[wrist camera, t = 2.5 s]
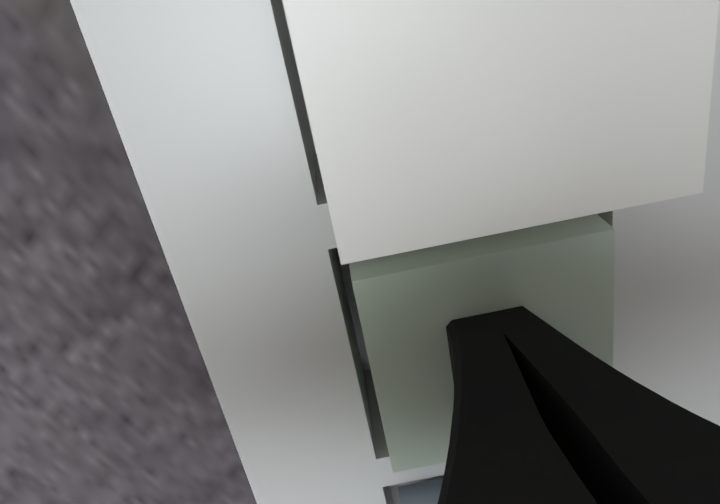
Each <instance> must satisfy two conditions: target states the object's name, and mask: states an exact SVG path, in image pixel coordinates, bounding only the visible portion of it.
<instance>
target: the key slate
mask: <svg viewBox="0 0 720 504" xmlns="http://www.w3.org/2000/svg"><path fill="white" fill-rule="evenodd" d="M442 481H443V478H440V479H435V480H430V481H425V482H420V483H414V484H409V485H404V486H399V487H398V492H399V498H400V504H437V503H438V500H439V495H440V491H441V486H442Z"/></svg>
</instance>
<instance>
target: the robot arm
mask: <svg viewBox="0 0 720 504" xmlns="http://www.w3.org/2000/svg"><path fill="white" fill-rule="evenodd" d="M446 332H447V339H448V346H449V353H450V360H451V367H452V375H453V382H454V403H453V414H452V423H451V432H450V441H449V448H448V454H447V460H446V466H445V471H444V476H443V481H442V486H441V491H440V495H439V500H438V503H437V504H720V426H719V425H717V424H715V423H713V422H711V421H709V420H707V419H704V418H702V417H700V416H698V415H696V414H694V413H692V412H690V411H688V410H687V409H685V408H683V407H681V406H679V405H677V404H675V403H673V402H671V401H670V400H668V399H666V398H664V397H663V396H661V395H659V394H657V393H655V392H654V391H652V390H650V389H648V388H647V387H645V386H643V385H641V384H640V383H638V382H636V381H634V380H633V379H631V378H629V377H628V376H626V375H624V374H623V373H621V372H619V371H618V370H616V369H615V368H613V367H611V366H610V365H608V364H607V363H605V362H604V361H602V360H601V359H599V358H597V357H596V356H594V355H593V354H591V353H590V352H588V351H587V350H585V349H584V348H582V347H581V346H579V345H578V344H576V343H575V342H574V341H572V340H571V339H569V338H568V337H566V336H565V335H563V334H562V333H561V332H559V331H558V330H556V329H555V328H553V327H552V326H551V325H549V324H548V323H546V322H545V321H544V320H542V319H541V318H539V317H538V316H536V315H535V314H534V313H532V312H531V311H529V310H528V309H526V308H525V307H523V306H519V307H514V308H509V309H504V310H499V311H494V312H489V313H484V314H479V315H474V316H469V317H464V318H459V319H454V320H451V321H450V322H449V324H448V325H447V326H446Z"/></svg>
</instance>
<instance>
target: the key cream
mask: <svg viewBox="0 0 720 504" xmlns="http://www.w3.org/2000/svg"><path fill="white" fill-rule="evenodd" d="M282 1H283V5H284V10H285V14H286V19H287V23H288V28H289V32H290V37H291V41H292V46H293V50H294V55H295V59H296V64H297V68H298V73H299V77H300V82H301V86H302V91H303V95H304V100H305V104H306V109H307V113H308V118H309V122H310V127H311V131H312V136H313V140H314V145H315V149H316V154H317V158H318V163H319V167H320V172H321V176H322V181H323V185H324V190H325V194H326V199H327V203H328V208H329V212H330V217H331V221H332V226H333V230H334V235H335V239H336V244H337V248H338V253H339V257H340V262H341V265H343V264H348V263H353V262H358V261H363V260H368V259H373V258H378V257H383V256H388V255H393V254H398V253H403V252H408V251H413V250H418V249H423V248H428V247H433V246H438V245H443V244H448V243H453V242H458V241H463V240H468V239H473V238H478V237H483V236H488V235H493V234H498V233H503V232H508V231H513V230H518V229H523V228H528V227H533V226H538V225H543V224H548V223H553V222H558V221H563V220H568V219H573V218H578V217H583V216H588V215H593V214H598V213H603V212H608V211H613V210H618V209H623V208H628V207H633V206H638V205H643V204H648V203H653V202H658V201H663V200H668V199H673V198H678V197H683V196H688V195H693V194H698V193H703V185H704V174H705V162H706V150H707V139H708V127H709V115H710V103H711V92H712V80H713V68H714V56H715V45H716V33H717V21H718V9H719V0H282Z"/></svg>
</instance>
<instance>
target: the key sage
mask: <svg viewBox="0 0 720 504" xmlns="http://www.w3.org/2000/svg"><path fill="white" fill-rule="evenodd" d="M614 258H615V229H614V228H613V227H612V226H610V225H609V224H608V223H607V222H606V221H604V220H603V219H602V218H601V217H600V216H599V215H597V214H593V215H588V216H583V217H578V218H573V219H568V220H563V221H558V222H553V223H548V224H543V225H538V226H533V227H528V228H523V229H518V230H513V231H508V232H503V233H498V234H493V235H488V236H483V237H478V238H473V239H468V240H463V241H458V242H453V243H448V244H443V245H438V246H433V247H428V248H423V249H418V250H413V251H408V252H403V253H398V254H393V255H388V256H383V257H378V258H373V259H368V260H363V261H358V262H353V263H349V267H350V274H351V281H352V286H353V290H354V295H355V300H356V304H357V309H358V314H359V318H360V323H361V327H362V332H363V337H364V341H365V346H366V351H367V355H368V360H369V364H370V369H371V374H372V378H373V383H374V387H375V392H376V397H377V401H378V406H379V411H380V415H381V420H382V424H383V429H384V434H385V438H386V443H387V448H388V452H389V457H390V461H391V466H392V471H393V473H394V472H399V471H404V470H409V469H415V468H420V467H425V466H430V465H435V464H440V463H445V462H446V460H447V454H448V448H449V441H450V432H451V423H452V414H453V403H454V382H453V375H452V367H451V360H450V353H449V346H448V339H447V332H446V326H447V325H448V324H449V322H450V321H451V320H454V319H459V318H464V317H469V316H474V315H479V314H484V313H489V312H494V311H499V310H504V309H509V308H514V307H519V306H523V307H525V308H526V309H528V310H529V311H531V312H532V313H534V314H535V315H536V316H538V317H539V318H541V319H542V320H544V321H545V322H546V323H548V324H549V325H551V326H552V327H553V328H555V329H556V330H558V331H559V332H561V333H562V334H563V335H565V336H566V337H568V338H569V339H571V340H572V341H574V342H575V343H576V344H578V345H579V346H581V347H582V348H584V349H585V350H587V351H588V352H590V353H591V354H593V355H594V356H596V357H597V358H599V359H601V360H602V361H604V362H605V363H607V364H608V365H610V366H611V367H613V330H614Z"/></svg>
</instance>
